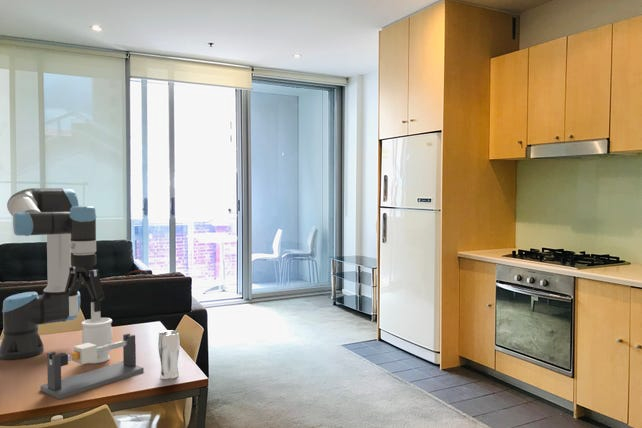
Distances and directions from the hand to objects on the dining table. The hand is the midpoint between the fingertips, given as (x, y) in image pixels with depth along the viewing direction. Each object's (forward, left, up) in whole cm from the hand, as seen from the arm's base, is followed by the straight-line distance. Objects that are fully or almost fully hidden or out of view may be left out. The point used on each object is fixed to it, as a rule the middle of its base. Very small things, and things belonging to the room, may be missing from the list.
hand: (84, 318), depth 161 cm
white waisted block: (+17, +20, -22) cm, 34 cm away
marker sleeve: (0, 0, -14) cm, 14 cm away
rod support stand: (0, +3, -21) cm, 22 cm away
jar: (-19, +15, -22) cm, 32 cm away
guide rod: (0, +3, -13) cm, 13 cm away
